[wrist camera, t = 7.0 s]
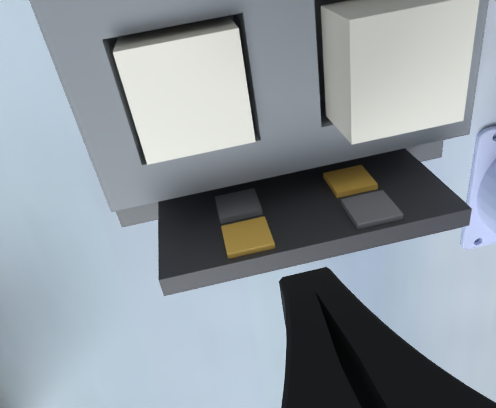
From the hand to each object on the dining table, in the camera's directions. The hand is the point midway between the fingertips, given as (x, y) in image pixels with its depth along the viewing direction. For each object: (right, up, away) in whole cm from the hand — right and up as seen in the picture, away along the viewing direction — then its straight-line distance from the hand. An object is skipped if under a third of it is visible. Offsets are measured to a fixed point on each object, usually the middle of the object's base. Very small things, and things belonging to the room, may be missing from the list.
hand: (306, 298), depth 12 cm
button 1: (-4, +8, +5) cm, 10 cm away
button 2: (+3, +8, +4) cm, 10 cm away
